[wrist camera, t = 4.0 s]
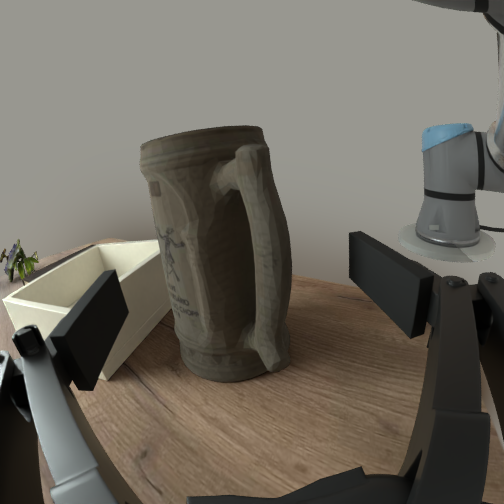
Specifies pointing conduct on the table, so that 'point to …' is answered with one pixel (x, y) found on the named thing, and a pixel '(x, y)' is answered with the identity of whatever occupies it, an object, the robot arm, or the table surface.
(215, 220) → the beer stein
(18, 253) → the passion flower
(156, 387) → the table surface
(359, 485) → the robot arm
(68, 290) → the open storage bin
